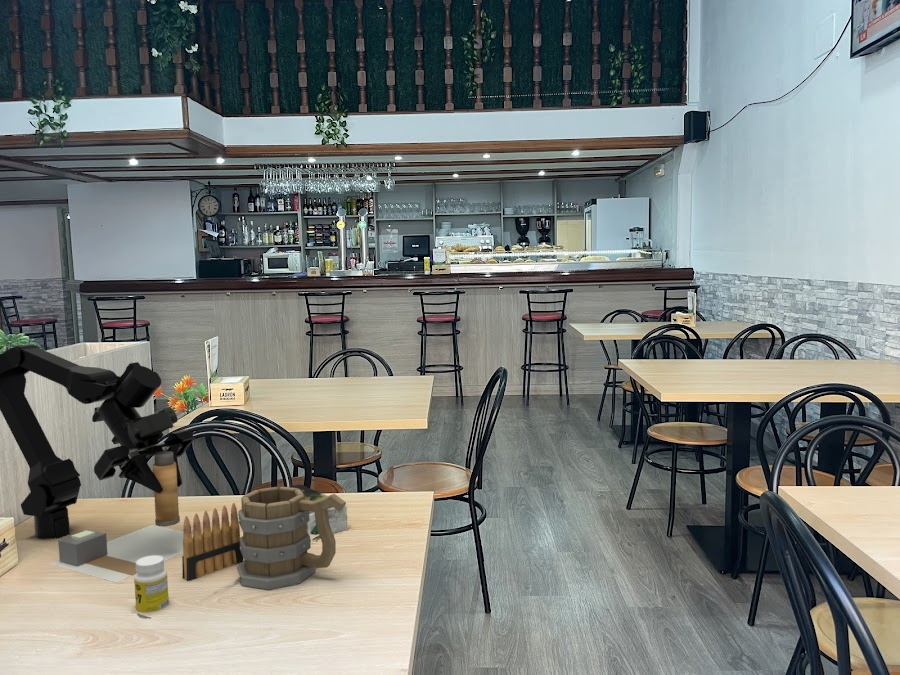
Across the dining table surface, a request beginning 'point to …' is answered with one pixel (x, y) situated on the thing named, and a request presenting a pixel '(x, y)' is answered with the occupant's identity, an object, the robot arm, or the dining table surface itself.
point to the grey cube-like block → (82, 547)
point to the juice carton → (335, 517)
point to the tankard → (282, 537)
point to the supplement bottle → (150, 584)
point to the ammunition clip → (211, 544)
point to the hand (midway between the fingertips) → (170, 488)
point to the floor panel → (131, 553)
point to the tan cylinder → (166, 489)
